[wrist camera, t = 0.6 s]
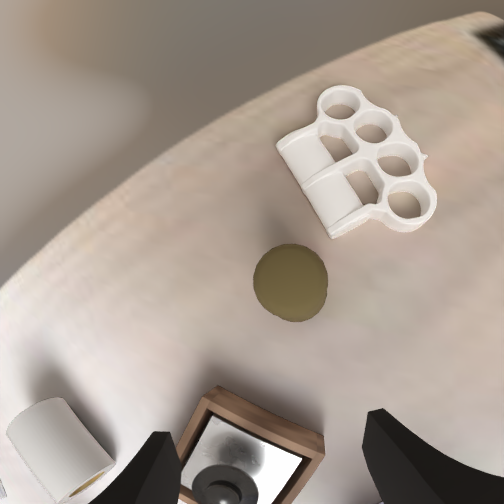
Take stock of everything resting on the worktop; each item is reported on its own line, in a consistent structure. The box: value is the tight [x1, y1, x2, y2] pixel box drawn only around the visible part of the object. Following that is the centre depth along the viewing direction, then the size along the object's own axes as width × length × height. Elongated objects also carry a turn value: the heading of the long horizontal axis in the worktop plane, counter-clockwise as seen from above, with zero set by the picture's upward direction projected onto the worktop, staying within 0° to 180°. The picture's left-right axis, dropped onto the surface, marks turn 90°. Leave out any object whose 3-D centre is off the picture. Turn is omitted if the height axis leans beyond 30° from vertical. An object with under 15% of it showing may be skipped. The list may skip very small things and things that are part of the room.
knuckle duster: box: [276, 85, 437, 239], centre depth 32 cm, size 3×18×15 cm
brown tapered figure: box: [253, 244, 328, 322], centre depth 26 cm, size 6×6×11 cm
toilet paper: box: [6, 397, 116, 504], centre depth 27 cm, size 10×10×10 cm
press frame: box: [176, 386, 325, 504], centre depth 26 cm, size 12×12×5 cm
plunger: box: [181, 414, 302, 504], centre depth 22 cm, size 9×9×6 cm
